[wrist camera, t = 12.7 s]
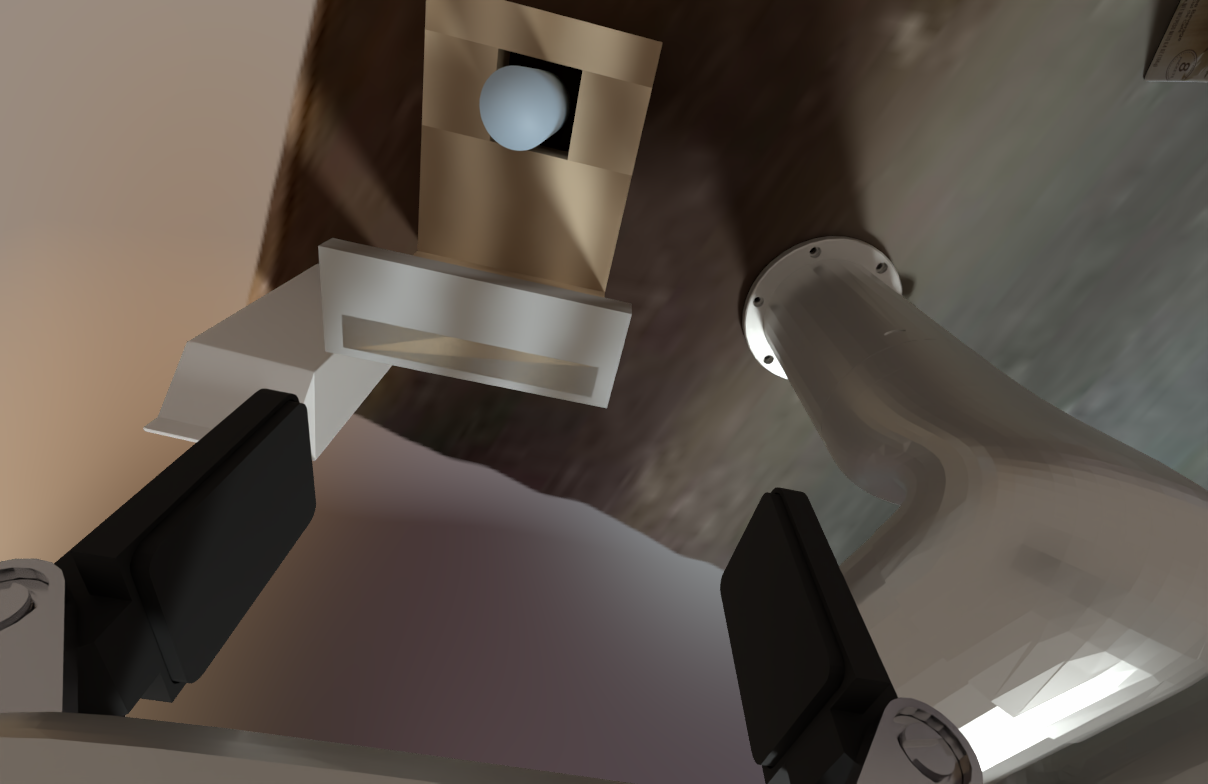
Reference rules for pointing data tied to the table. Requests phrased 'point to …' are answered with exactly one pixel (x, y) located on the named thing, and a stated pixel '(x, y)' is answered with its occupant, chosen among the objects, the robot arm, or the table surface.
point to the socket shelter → (504, 218)
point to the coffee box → (1183, 46)
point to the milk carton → (267, 367)
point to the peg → (523, 106)
